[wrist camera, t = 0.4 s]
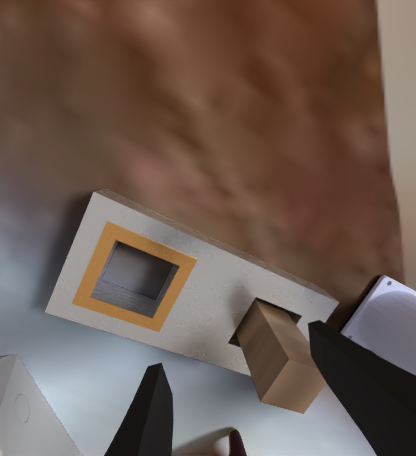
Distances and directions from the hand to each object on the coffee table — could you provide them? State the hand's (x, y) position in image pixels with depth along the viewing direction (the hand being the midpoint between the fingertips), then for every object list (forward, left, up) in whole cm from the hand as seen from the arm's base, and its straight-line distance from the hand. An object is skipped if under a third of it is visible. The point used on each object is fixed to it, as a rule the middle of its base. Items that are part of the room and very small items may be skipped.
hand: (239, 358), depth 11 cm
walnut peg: (-6, +2, -10) cm, 12 cm away
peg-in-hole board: (0, +2, -10) cm, 10 cm away
